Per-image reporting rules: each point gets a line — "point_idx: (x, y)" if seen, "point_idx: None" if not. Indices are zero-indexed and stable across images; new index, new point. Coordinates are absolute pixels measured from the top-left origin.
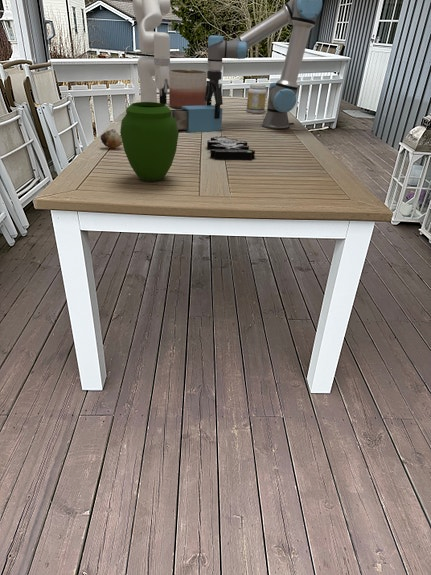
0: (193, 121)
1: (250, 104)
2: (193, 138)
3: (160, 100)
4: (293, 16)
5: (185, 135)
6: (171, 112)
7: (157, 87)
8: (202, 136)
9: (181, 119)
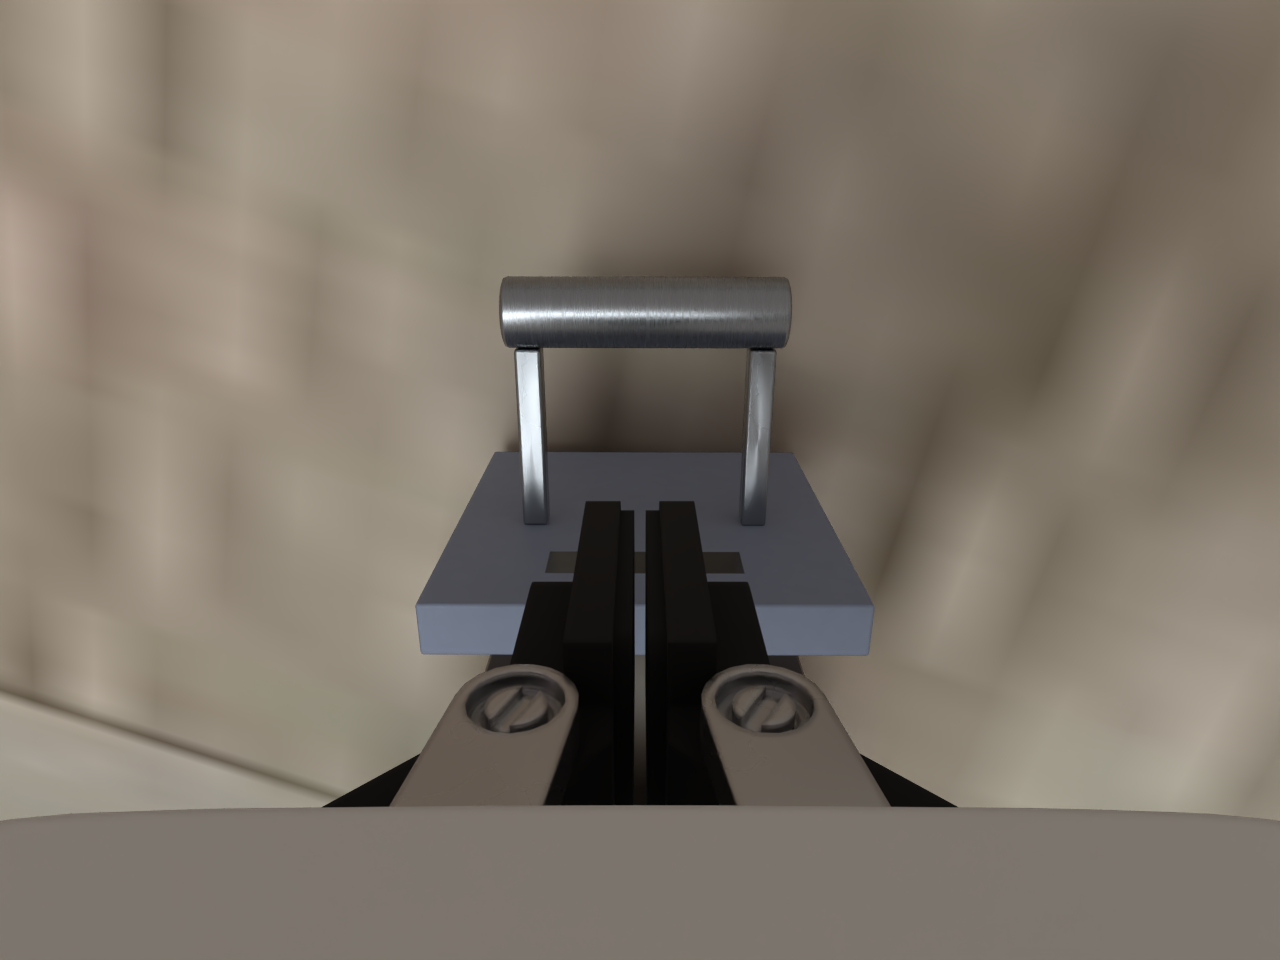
0: None
1: None
2: (109, 632)
3: (584, 545)
4: None
5: (309, 596)
6: (421, 628)
7: (602, 828)
8: (231, 774)
9: None
